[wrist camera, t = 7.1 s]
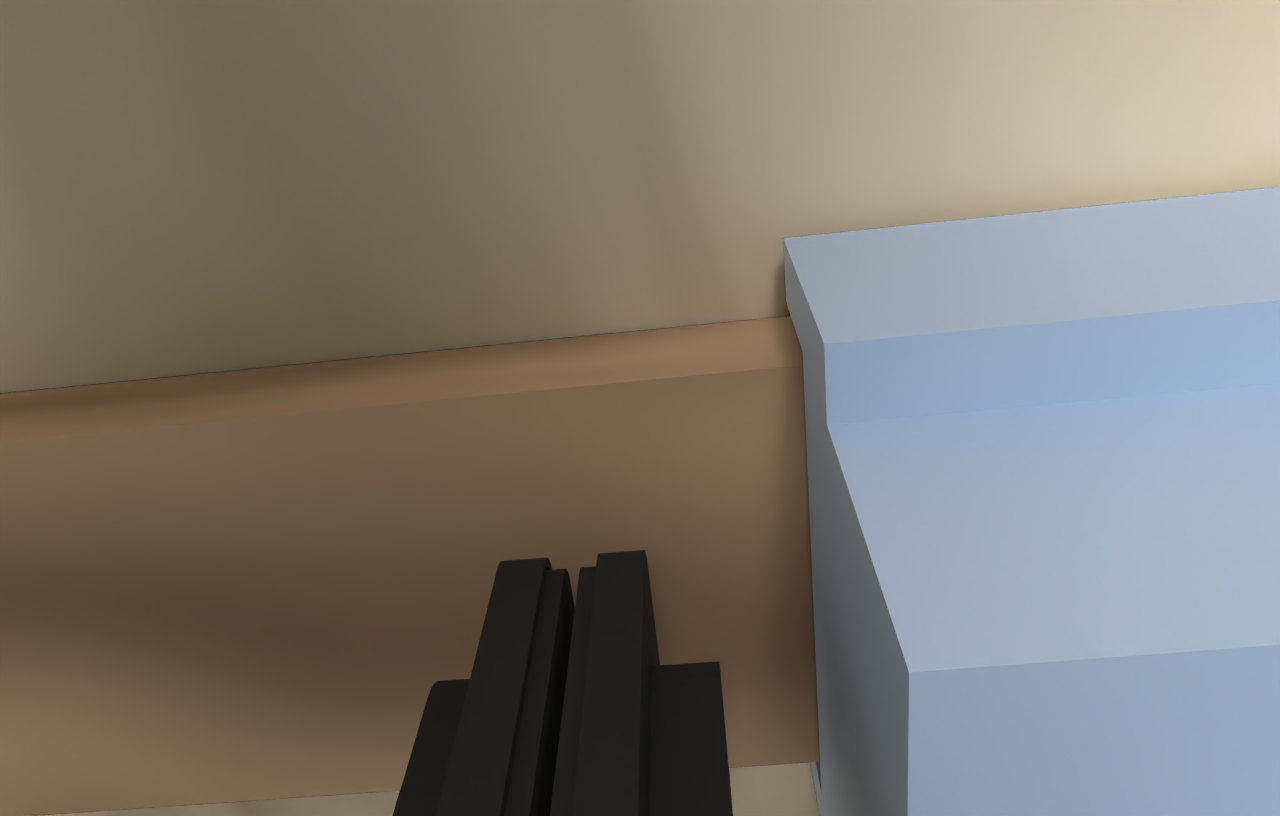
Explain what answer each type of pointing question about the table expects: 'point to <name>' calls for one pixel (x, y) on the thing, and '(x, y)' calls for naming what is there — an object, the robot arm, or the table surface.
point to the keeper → (1046, 510)
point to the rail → (381, 553)
